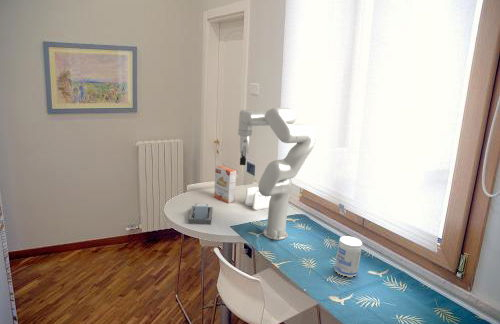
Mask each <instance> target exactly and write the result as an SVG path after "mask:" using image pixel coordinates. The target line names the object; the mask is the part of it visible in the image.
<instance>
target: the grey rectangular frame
mask: <svg viewBox="0 0 500 324" xmlns="http://www.w3.org/2000/svg"><path fill="white" fill-rule="evenodd" d="M193 213H194V214H195V205H191V208H190V210H189V215H188V220H187V224H191V225H212V220H213V219H212V217H213V206H208V217H207V219H198V218H193V217H194V214H193Z"/></svg>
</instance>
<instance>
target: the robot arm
mask: <svg viewBox="0 0 500 324" xmlns="http://www.w3.org/2000/svg"><path fill="white" fill-rule="evenodd" d="M238 117H239V118H238V131H237V135H238V136H239V153H240V158H239V165H240V166H246V164H247V157H246V156H247V155H248V154H249V153H250V140H251V139H250V138H251V137H252V135H253V127H255V126H257V127H258V126H260V127H261V126H263V127H264V126H265V127H266V126H268V127H270V128H271V130H272V131H273V133H274V134H275V135H276V137H277V138H278V140H280V142H281V143H284V144H294V143H296V144H295V145H293V146H292V147H291V148H290V149H289V151H288V153H287V155H286V156H285V157H284V158H283V159H276V160H272V161H270V162H269V163H268V164H267V166H266V167H265V169H264V171H263V173H262V175H261V177H260V178H259V182H258V185H257V187H258V189H259V192H260V194H261V195H263V196H271V198H270V201H269V209H267V210H268V212H267V220H266V221H267V222H266V228H265V229H264V230H263V231H262V233H263V236H265V237H266V238H268V239H270V240H276V241H281V240H285V239H287V238H288V236H289V233H288V231H286V230H287V229H286V228H287V217H288V207H289V201H290V195H291V192H292V189H293V181H292V179H294V178H295V177H296V176H298V175H297V174H298V173H299V171H300V169H301V168H302V166H303V165H304V163H305V161H306V159H307V158H308V157H309V155H310V154H311V152H312V150H313V149H314V146H315V144H316V131H315V130H314V128H313V127H312V126H311V125H308V124H304V123H296V124H295V122H296V121H297V113H296V112H295V111H294V110H293V109H291V108H288V107H273V108H271V109H270V108H269V109H267V111H252V110H248V109H242V110H241V109H240V111H239V116H238Z"/></svg>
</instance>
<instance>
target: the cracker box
mask: <svg viewBox="0 0 500 324" xmlns="http://www.w3.org/2000/svg"><path fill="white" fill-rule="evenodd" d="M237 172H238V170H236V169H233V168H230V167H227V166H225V165H217V166H215V171H214V173H215V175H214V176H215V177H214V194H213V195H214V196H213V197H214V198H216V199H218V200H220V201H222V202H224V203H225V204H226V203H227V204H232V203H235V200H236V188H237V187H236V185H237Z"/></svg>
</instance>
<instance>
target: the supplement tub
mask: <svg viewBox="0 0 500 324" xmlns="http://www.w3.org/2000/svg"><path fill="white" fill-rule="evenodd" d="M362 250H363V242H362V240H360V239H359V238H357V237H353V236H348V235H347V236H341V237H340V238H339V241H338V246H337V252H336V257H335V262H334V263H335V264H334V272H335V273H336V272H337V273H336V274H338V275H339V274H340V275H339V276H341V275H343V276H342V277H344V276H347V277H346V278H354V277H353V276H355V277H357V276H358V273H359V266H360V260H361V255H362V254H361V253H362Z"/></svg>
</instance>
